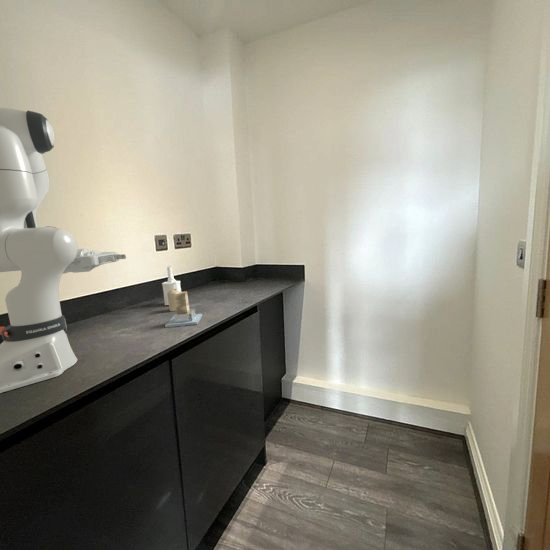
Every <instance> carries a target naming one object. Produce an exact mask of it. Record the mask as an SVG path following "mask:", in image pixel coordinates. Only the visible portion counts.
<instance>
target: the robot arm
mask: <svg viewBox="0 0 550 550" xmlns="http://www.w3.org/2000/svg"><path fill="white" fill-rule="evenodd" d="M55 135H56V134H55V132H54V129H53V127H52V125H51V123H50V122H49V121H48V119H47V118H46V117H45V115H43V114H41V113H39V112H36V111H31V110H27V111H25V110H19V109H14V108H7V107H0V273H7V272H8V273H9V272H18V271H21V272H20V273H21V277H20V280H19V283H18V284H17V286H15V287H14V288H12V289H10V290H9V291H8V292H7V293H6V295H5V298H4V299H5V300H4V301H5V305H6V308H7V309H6V310H7V314H8V319H9V323H10V324H9V325H7V326H0V335H1V337H2V340H3V341H2V342H1V343H0V394H2V393H4V392H9V391H12V390H15V389H18V388H22V387H26V386H29V385H32V384H36V383H40V382H44V381H46V380H49V379H53V378H57V377H59V376H60V375H62V374H63V373H64V371H66V370H68V369H69V368H71V367H72V366H74V365H75V364H76V363H77V361H78V358H77V356H76V355H75V352H74V351H73V348H72V347H71V345H70V341H69V339H68V328H67V322H66V318H65V315H63V314H62V309H61V307H62V306H61V302H60V293H59V287H60V282H61V278H62V276H63V275H64V274H68V273H73V274H75V273H76V274H77V273H88V272H89V273H90V272H91V271H93V270H94V269H95V268H97V267H100V266H101V265H104V264H105V265H106V264H111V263H116V262H119V261H120V260H126V259H127V254H119V253H118V252H115V251H98V250H91V249H88V248H78V243H77V240H76V238H75V237H74V235H72V233H71V232H70V231H68V230H67V229H64V228H58V227H55V226H39V225H38V221H37V212H38V209H39V207H40V205H41V204H42V201H43V200H44V199H45V197H46V195H47V194H48V193H49V191H50V186H51V185H50V175H49V173H48V169H47V166H46V162H45V160H44V157H43V155H42V154H45V153H48V152H50V151H52V149H54V147H55V142H56V141H55V140H56V136H55Z"/></svg>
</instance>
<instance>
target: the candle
mask: <svg viewBox="0 0 550 550" xmlns="http://www.w3.org/2000/svg"><path fill="white" fill-rule="evenodd" d="M177 292H179V291H178V290H177V289H172V290H169V292H168V293H167V295H168V302H169V306H168V307H169V309H168V310H169V311H170V312H177V309H176V301H175V293H177Z"/></svg>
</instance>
